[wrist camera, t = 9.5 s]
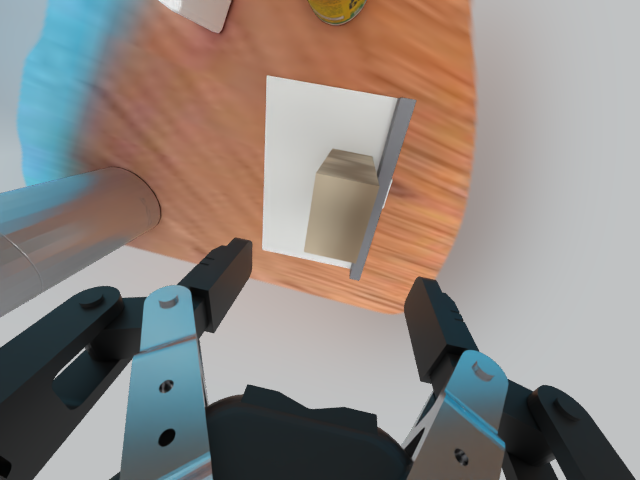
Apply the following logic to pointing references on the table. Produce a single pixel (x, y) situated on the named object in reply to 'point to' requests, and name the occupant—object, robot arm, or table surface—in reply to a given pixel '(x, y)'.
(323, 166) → the tea box
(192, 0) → the pepper shaker
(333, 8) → the supplement bottle
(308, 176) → the shelf
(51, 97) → the table surface
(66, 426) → the robot arm
